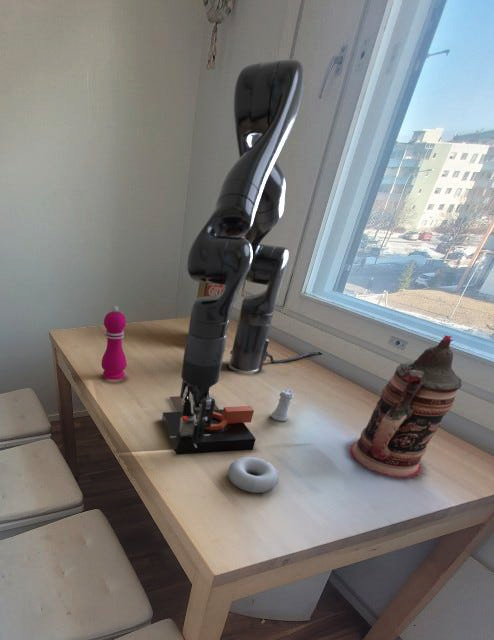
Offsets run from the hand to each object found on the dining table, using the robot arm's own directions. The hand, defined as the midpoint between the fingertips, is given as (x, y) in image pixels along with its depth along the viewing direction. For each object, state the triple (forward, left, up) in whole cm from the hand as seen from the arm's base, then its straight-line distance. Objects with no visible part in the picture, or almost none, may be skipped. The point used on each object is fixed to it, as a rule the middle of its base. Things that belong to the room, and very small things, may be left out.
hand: (191, 429), depth 91 cm
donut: (-10, +13, -5) cm, 17 cm away
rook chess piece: (-27, -10, -5) cm, 29 cm away
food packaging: (-26, -66, -5) cm, 70 cm away
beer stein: (-42, +9, -5) cm, 43 cm away
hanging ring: (-10, -6, -2) cm, 11 cm away
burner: (-7, -6, -2) cm, 9 cm away
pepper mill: (+11, -39, -5) cm, 40 cm away
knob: (0, 0, -2) cm, 2 cm away
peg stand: (-7, -19, -5) cm, 20 cm away
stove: (-5, -3, -5) cm, 8 cm away
